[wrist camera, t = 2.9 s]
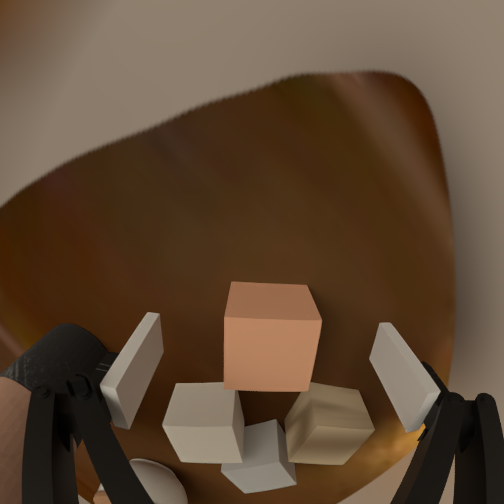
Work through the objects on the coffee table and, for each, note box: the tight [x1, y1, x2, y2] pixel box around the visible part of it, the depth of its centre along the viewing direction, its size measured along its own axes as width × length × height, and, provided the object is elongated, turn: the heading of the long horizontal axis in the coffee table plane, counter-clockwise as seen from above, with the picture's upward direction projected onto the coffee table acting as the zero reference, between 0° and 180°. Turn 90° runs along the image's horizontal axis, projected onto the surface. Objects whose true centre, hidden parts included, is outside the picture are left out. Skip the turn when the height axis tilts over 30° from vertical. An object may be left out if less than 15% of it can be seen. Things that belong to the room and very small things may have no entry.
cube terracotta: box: [224, 282, 322, 392], centre depth 17 cm, size 5×5×5 cm
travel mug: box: [0, 324, 108, 504], centre depth 12 cm, size 8×8×20 cm
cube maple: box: [284, 382, 375, 465], centre depth 20 cm, size 5×5×5 cm
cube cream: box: [162, 382, 244, 463], centre depth 20 cm, size 5×5×5 cm
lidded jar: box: [93, 458, 188, 504], centre depth 22 cm, size 11×11×9 cm
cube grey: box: [221, 419, 297, 493], centre depth 21 cm, size 5×5×5 cm
